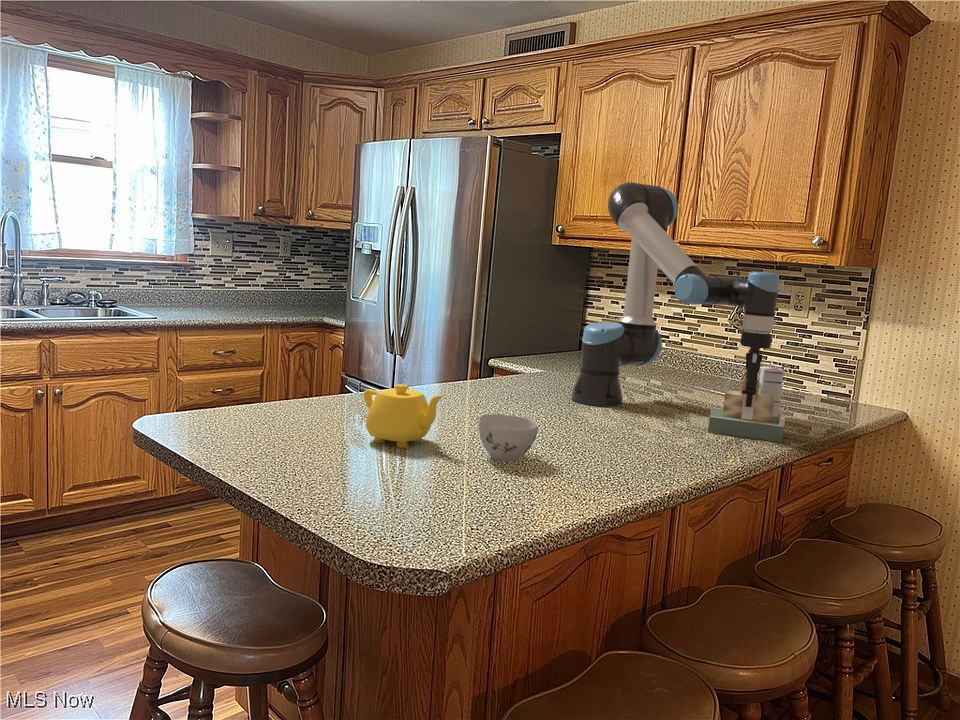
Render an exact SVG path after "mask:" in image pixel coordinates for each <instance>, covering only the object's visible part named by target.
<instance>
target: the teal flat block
mask: <svg viewBox="0 0 960 720" xmlns="http://www.w3.org/2000/svg"><path fill="white" fill-rule="evenodd" d="M710 409H711V410H710V412H709V413H710V414H709V417H708V418H709V420H708V427H707V428H708V429H707V432H708V433H712V434H713V433H714V434H719V435H725V436H734V437H741V438H746V437H748V439H753V438H754V439H755V440H760V439H761V441H767V440H769V441H770V442H774V441H775V443H782V442H783V438H784V430H785V422H786V418H785V414H784V411H783V409H782V408H780V409H778V415H777V416H773V415H772V419H771V422H764V421H757V420H748V419H741V418H735V417H727V416H723V408H719V407H711V408H710Z"/></svg>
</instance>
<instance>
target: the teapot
mask: <svg viewBox="0 0 960 720" xmlns="http://www.w3.org/2000/svg"><path fill="white" fill-rule="evenodd" d="M408 387H409V385H407V384H401V383H399V384H394V388H388V389H382V390H380V391H379V390H376V389H371V388H369V389H365V390H364V392H363V398H364V402H365V404H366V406H367V408H368V412H367V416H366V421H365V428H366V431H367V432H368V434H369V435H370V436H372V437H374V438H373V440H372V442H373V443H375V444H382V443H383V444H384V442H385V441H390V442H396V448H399V449H407V448H409V444H408V442H413V443H423V442H424V440H423V438H424V437H425V436H427V434H428V433H429V431H431V427H432V425H433V423H434V422H435V420H436V416H437V406H438V403H439V401H440V400H441V399H442V398H444V397H445V395H444V394H442V395H440V394H439V395H434V396H433V397H431V398H430V400H429V403H428V401H427V398H426V396H425V394H424V392H422V391H418V390H413V389H408ZM373 396H374V398H373Z"/></svg>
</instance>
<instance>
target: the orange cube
mask: <svg viewBox="0 0 960 720" xmlns="http://www.w3.org/2000/svg"><path fill="white" fill-rule="evenodd" d="M746 380H747V378H746V377H743V378H742V384H741V391H740V392H741V395H744V394H742V390H745V388H746ZM759 382H760V379H759V378H757V385H756V394H755V397H758V391H759Z"/></svg>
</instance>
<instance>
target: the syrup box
mask: <svg viewBox="0 0 960 720" xmlns="http://www.w3.org/2000/svg"><path fill="white" fill-rule="evenodd" d="M784 373H785V370H784V369H782V368H781V367H776V366H763V365H762V366H760V373H759V374H760V376H759V389H758V394H762V395H770V396H773V397H774V405H773V412H772V415H773V416H777V415H778V409H781V402H782V401H781V399H782V392H783V391H782V390H783V383H784V381H783V380H784Z"/></svg>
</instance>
